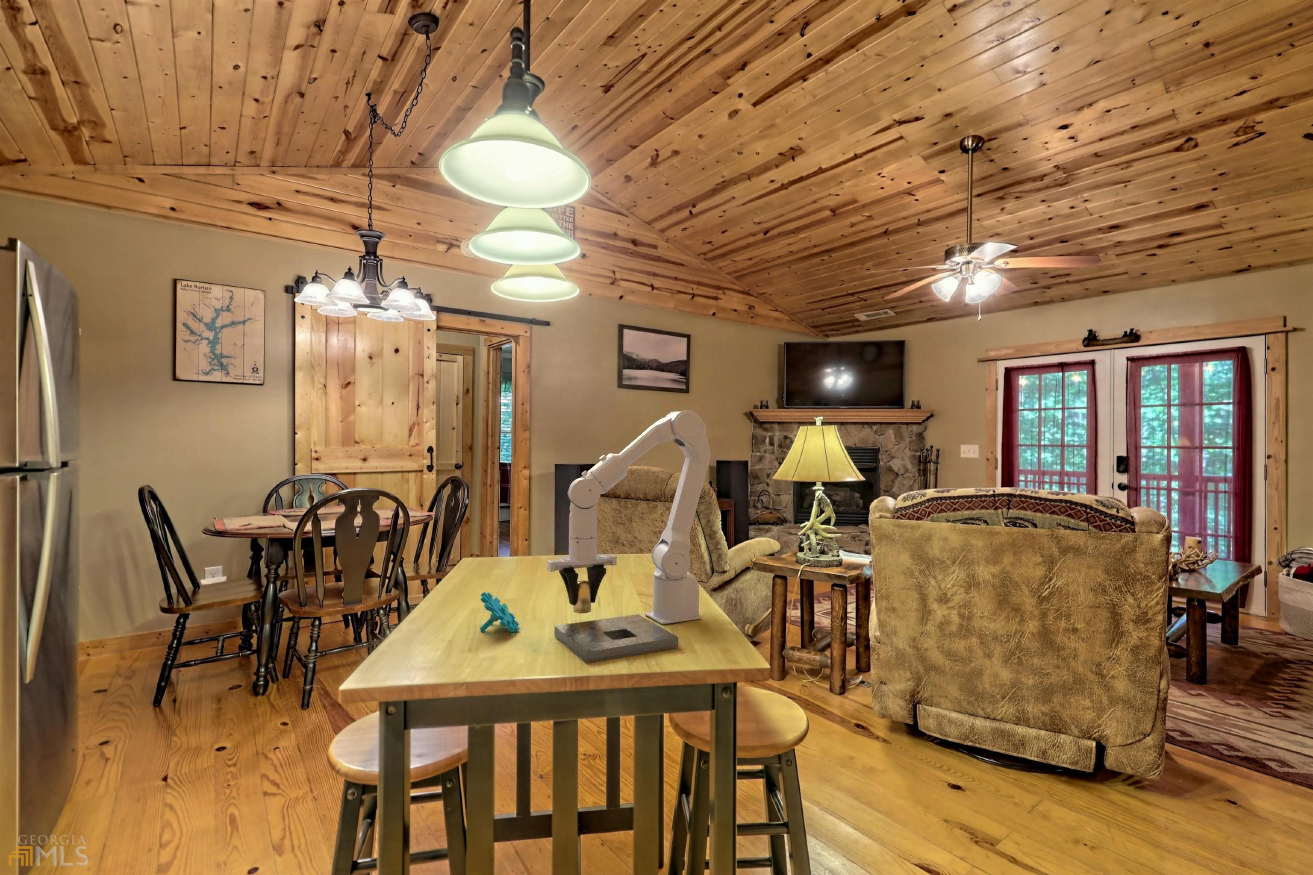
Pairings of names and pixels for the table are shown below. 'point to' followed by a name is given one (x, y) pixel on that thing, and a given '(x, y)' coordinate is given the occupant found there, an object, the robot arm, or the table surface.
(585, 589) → the bushing
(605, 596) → the table surface
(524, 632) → the table surface
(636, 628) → the plate
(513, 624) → the gear
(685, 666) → the table surface
